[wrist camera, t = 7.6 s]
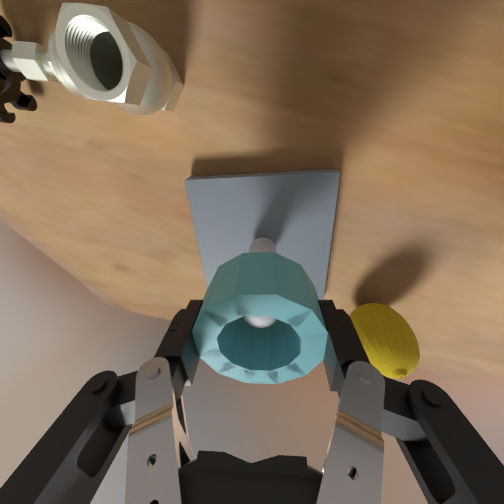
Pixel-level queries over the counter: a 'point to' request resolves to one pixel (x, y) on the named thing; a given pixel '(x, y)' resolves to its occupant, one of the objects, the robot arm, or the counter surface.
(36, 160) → the counter surface
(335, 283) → the counter surface
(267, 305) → the collar
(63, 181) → the counter surface
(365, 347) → the lemon
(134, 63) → the valve
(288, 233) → the post stand
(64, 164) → the counter surface
